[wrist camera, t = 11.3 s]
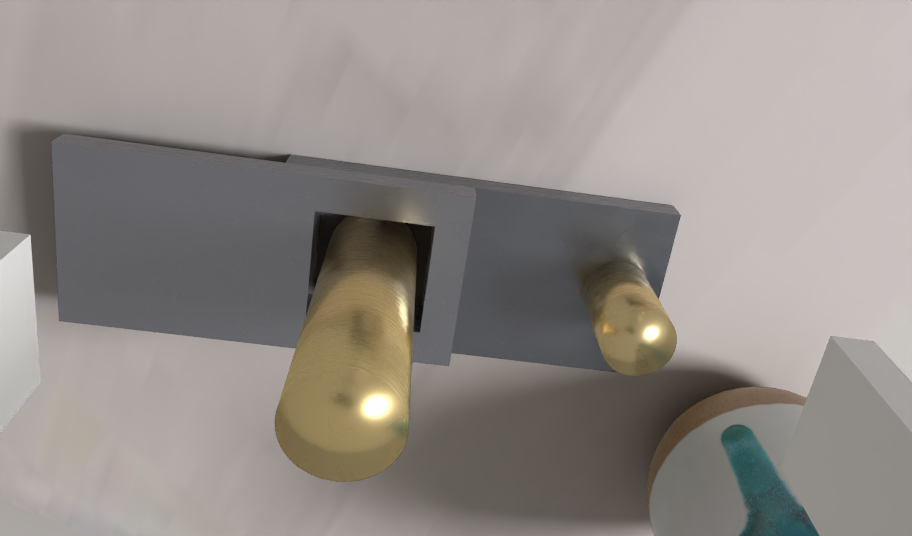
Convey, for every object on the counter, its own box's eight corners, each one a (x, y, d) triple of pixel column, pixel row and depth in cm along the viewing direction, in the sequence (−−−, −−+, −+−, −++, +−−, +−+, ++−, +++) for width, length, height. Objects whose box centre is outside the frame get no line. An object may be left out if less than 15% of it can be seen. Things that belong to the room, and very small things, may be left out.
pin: (332, 204, 37) (279, 361, 24) (422, 216, 38) (416, 377, 25) (325, 286, 39) (270, 474, 26) (411, 296, 39) (400, 487, 26)
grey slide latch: (76, 126, 36) (10, 166, 30) (673, 205, 38) (714, 256, 32) (81, 296, 39) (22, 361, 33) (633, 361, 41) (663, 432, 35)
